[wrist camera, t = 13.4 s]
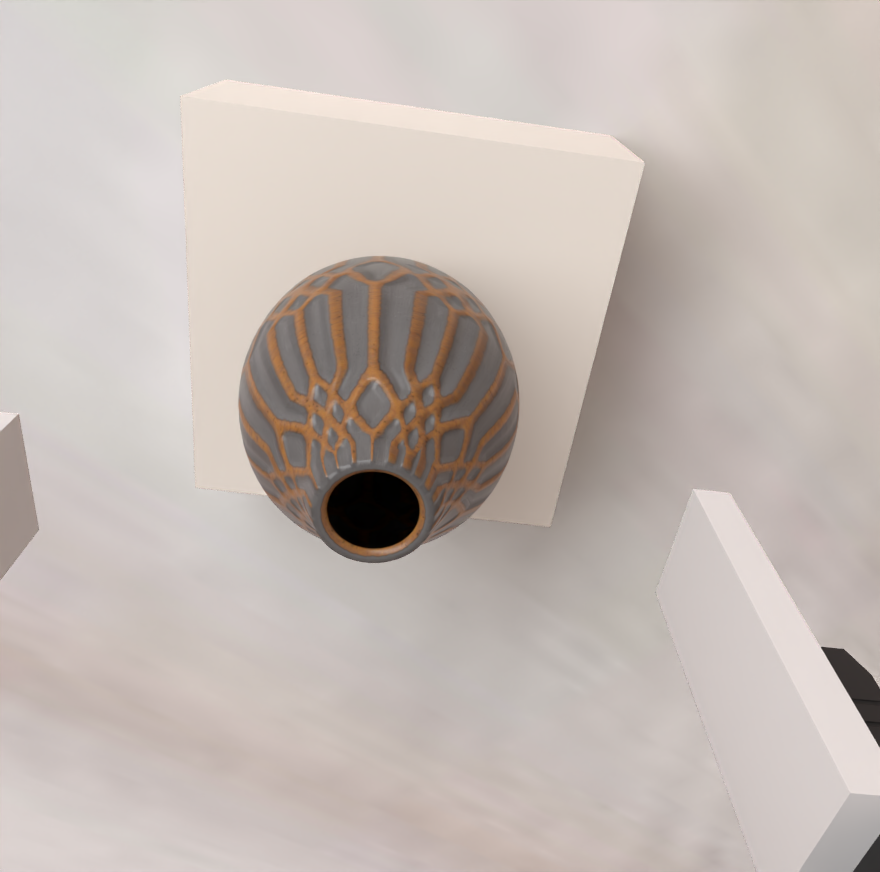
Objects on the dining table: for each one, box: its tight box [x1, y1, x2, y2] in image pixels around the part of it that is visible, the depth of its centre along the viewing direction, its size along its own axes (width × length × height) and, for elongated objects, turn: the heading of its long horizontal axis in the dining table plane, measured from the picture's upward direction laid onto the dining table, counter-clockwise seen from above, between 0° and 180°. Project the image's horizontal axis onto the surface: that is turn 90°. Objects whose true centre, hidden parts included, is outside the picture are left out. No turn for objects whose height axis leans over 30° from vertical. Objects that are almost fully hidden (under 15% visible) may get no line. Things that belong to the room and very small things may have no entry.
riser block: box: [180, 79, 645, 527], centre depth 24 cm, size 12×12×5 cm
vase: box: [238, 256, 520, 563], centre depth 18 cm, size 7×7×9 cm
